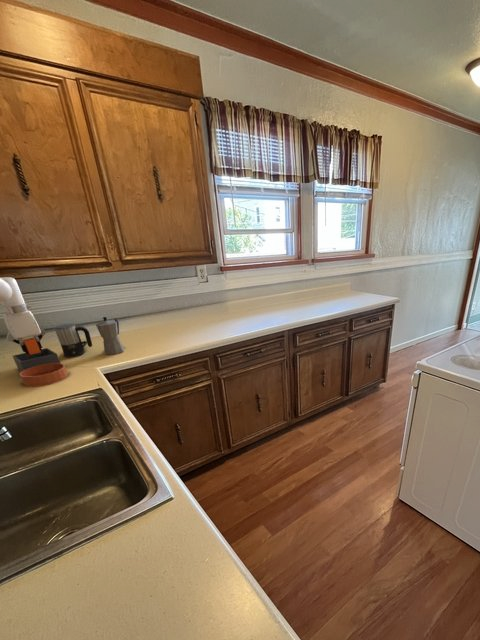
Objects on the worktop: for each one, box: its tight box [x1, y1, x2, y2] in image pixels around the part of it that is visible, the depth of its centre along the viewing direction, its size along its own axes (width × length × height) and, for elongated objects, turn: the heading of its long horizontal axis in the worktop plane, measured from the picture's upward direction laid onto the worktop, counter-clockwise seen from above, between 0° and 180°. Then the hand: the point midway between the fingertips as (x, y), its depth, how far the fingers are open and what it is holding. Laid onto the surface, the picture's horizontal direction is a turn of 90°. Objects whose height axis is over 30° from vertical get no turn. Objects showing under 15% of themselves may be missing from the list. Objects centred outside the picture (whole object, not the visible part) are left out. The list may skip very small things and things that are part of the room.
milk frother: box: [52, 323, 93, 358], centre depth 166 cm, size 14×16×15 cm
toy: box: [23, 337, 41, 355], centre depth 141 cm, size 4×4×6 cm
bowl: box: [19, 362, 69, 387], centre depth 135 cm, size 15×15×5 cm
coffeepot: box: [95, 316, 125, 356], centre depth 165 cm, size 15×9×18 cm, turn 174°
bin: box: [12, 347, 61, 373], centre depth 145 cm, size 13×13×8 cm
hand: (33, 351), depth 142 cm, fingers closed on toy, 4 cm apart
